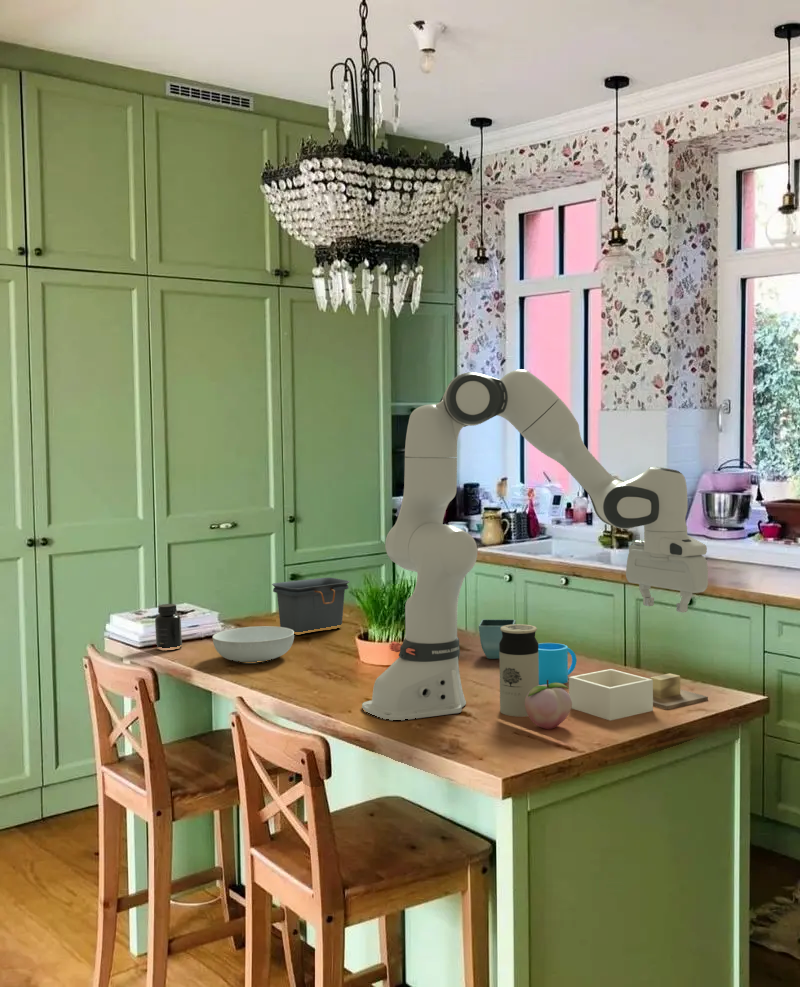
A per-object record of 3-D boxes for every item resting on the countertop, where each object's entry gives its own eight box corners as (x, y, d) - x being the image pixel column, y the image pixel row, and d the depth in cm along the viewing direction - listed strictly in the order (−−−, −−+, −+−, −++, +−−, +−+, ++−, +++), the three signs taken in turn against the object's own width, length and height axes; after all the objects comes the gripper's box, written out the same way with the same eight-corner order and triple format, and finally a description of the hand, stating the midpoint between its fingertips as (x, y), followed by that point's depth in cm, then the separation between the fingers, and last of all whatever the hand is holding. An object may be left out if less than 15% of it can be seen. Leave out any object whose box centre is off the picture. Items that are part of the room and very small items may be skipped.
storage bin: (327, 622, 325) (326, 575, 324) (359, 629, 313) (358, 581, 312) (268, 632, 311) (267, 583, 310) (299, 640, 300) (298, 589, 299)
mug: (547, 687, 243) (547, 652, 242) (525, 680, 250) (524, 645, 249) (587, 679, 249) (587, 645, 249) (564, 673, 256) (564, 639, 256)
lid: (666, 710, 221) (666, 686, 221) (623, 698, 231) (623, 675, 231) (707, 701, 228) (707, 678, 227) (663, 689, 238) (663, 667, 238)
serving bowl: (268, 647, 291) (267, 622, 291) (310, 660, 275) (309, 633, 274) (198, 659, 279) (198, 632, 278) (238, 673, 262) (237, 645, 262)
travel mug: (517, 706, 227) (516, 622, 226) (546, 713, 222) (546, 627, 220) (492, 714, 222) (491, 627, 221) (521, 721, 216) (520, 633, 215)
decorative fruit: (548, 721, 216) (548, 672, 216) (579, 730, 210) (578, 679, 209) (514, 729, 211) (514, 679, 210) (544, 739, 204) (544, 687, 203)
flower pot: (478, 660, 271) (478, 625, 270) (482, 653, 280) (481, 618, 279) (513, 661, 269) (513, 626, 269) (516, 653, 278) (515, 619, 277)
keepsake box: (610, 723, 214) (609, 688, 213) (569, 710, 224) (568, 676, 223) (652, 713, 220) (652, 679, 220) (611, 701, 230) (611, 668, 230)
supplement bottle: (166, 645, 296) (165, 602, 295) (187, 647, 293) (185, 603, 292) (150, 650, 290) (149, 606, 289) (171, 652, 287) (169, 608, 286)
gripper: (619, 540, 234) (619, 603, 235) (691, 549, 217) (691, 617, 218) (640, 538, 237) (639, 600, 238) (713, 547, 220) (712, 613, 221)
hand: (664, 608), depth 228 cm, fingers open, 8 cm apart
